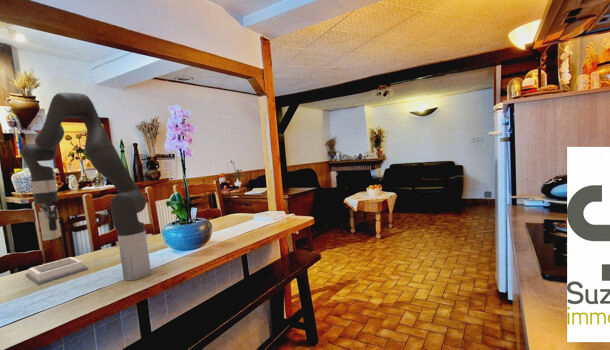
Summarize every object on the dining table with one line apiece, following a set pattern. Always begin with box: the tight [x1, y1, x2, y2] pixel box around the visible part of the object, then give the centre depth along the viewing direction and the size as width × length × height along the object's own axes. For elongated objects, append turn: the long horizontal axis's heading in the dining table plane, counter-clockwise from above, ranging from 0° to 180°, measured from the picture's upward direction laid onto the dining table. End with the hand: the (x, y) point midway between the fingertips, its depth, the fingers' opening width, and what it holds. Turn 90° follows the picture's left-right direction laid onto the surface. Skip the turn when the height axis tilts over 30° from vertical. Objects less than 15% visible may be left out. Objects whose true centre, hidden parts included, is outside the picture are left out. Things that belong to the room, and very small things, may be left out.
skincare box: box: [38, 208, 62, 242], centre depth 118 cm, size 6×4×12 cm
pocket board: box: [25, 256, 89, 286], centre depth 119 cm, size 20×16×4 cm
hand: (50, 229), depth 118 cm, fingers closed on skincare box, 7 cm apart
